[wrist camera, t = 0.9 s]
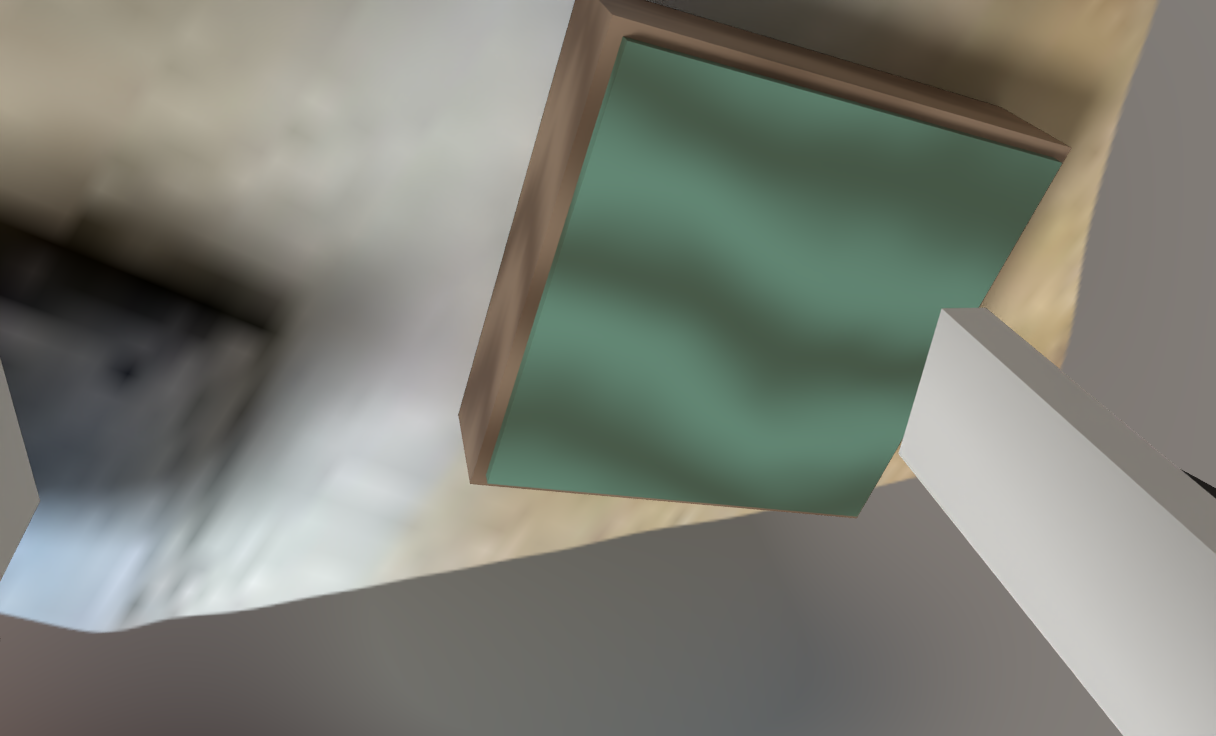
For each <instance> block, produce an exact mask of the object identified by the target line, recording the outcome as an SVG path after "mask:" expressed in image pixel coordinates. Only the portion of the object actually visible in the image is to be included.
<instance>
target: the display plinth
mask: <svg viewBox="0 0 1216 736" xmlns="http://www.w3.org/2000/svg"><path fill="white" fill-rule="evenodd" d="M1070 150H1071V147H1069V146H1068V145H1066V144H1064V143H1062V142H1061V141H1059V140H1057V139H1055V138H1054V137H1052V136H1050V135H1048V134H1047V133H1045V132H1043V131H1041V130H1040V129H1038V128H1036V127H1035V126H1033V125H1031V124H1029V123H1028V122H1026V121H1024V120H1022V119H1021V118H1019V117H1017V116H1015V115H1014V114H1012V113H1010V112H1008V111H1007V110H1005V109H1003V108H1001V107H999V106H996V105H992V104H989V103H986V102H982V101H979V100H976V99H972V98H969V97H966V96H962V95H959V94H955V93H952V92H949V91H945V90H942V89H939V88H935V87H932V86H929V85H925V84H922V83H919V82H915V81H912V80H909V79H905V78H902V77H899V76H895V75H892V74H889V73H885V72H882V71H879V70H875V69H872V68H869V67H865V66H862V65H859V64H855V63H852V62H849V61H845V60H842V59H839V58H835V57H832V56H829V55H825V54H822V53H819V52H815V51H812V50H809V49H805V48H802V47H799V46H795V45H792V44H789V43H785V42H782V41H779V40H775V39H772V38H769V37H765V36H762V35H759V34H755V33H752V32H749V31H745V30H742V29H739V28H735V27H732V26H729V25H725V24H722V23H719V22H715V21H712V20H709V19H705V18H702V17H699V16H695V15H692V14H689V13H685V12H682V11H679V10H675V9H672V8H669V7H665V6H662V5H659V4H655V3H652V2H649V1H645V0H575V3H574V6H573V10H572V13H571V17H570V20H569V24H568V28H567V31H566V35H565V38H564V42H563V45H562V49H561V52H560V56H559V60H558V63H557V67H556V70H555V74H554V77H553V81H552V84H551V88H550V91H549V95H548V99H547V102H546V106H545V109H544V113H543V116H542V120H541V123H540V127H539V130H538V134H537V138H536V141H535V145H534V148H533V152H532V155H531V159H530V162H529V166H528V169H527V173H526V177H525V180H524V184H523V187H522V191H521V194H520V198H519V201H518V205H517V209H516V212H515V216H514V219H513V223H512V226H511V230H510V233H509V237H508V240H507V244H506V248H505V251H504V255H503V258H502V262H501V265H500V269H499V272H498V276H497V279H496V283H495V287H494V290H493V294H492V297H491V301H490V304H489V308H488V311H487V315H486V318H485V322H484V326H483V329H482V333H481V336H480V340H479V343H478V347H477V350H476V354H475V357H474V361H473V365H472V368H471V372H470V375H469V379H468V382H467V386H466V389H465V393H464V397H463V400H462V404H461V407H460V411H459V414H458V416H459V421H460V427H461V433H462V439H463V445H464V451H465V457H466V462H467V468H468V474H469V480H470V484H477V485H488V486H499V487H510V488H522V489H533V490H544V491H555V492H567V493H578V494H589V495H601V496H612V497H623V498H634V499H646V500H657V501H668V502H679V503H691V504H702V505H713V506H725V507H736V508H747V509H758V510H770V511H781V512H792V513H803V514H815V515H827V516H837V517H849V518H857V517H858V515H859V513H860V512H861V510H862V508H863V507H864V505H865V503H866V501H867V500H868V498H869V496H870V495H871V493H872V491H873V489H874V488H875V486H876V484H877V482H878V481H879V479H880V477H881V476H882V474H883V472H884V470H885V469H886V467H887V465H888V463H889V462H890V460H891V458H892V457H893V455H894V453H895V451H896V450H897V448H898V446H899V445H900V443H901V441H902V439H903V437H904V434H905V430H906V427H907V424H908V420H909V417H910V413H911V410H912V407H913V403H914V400H915V397H916V393H917V390H918V386H919V383H920V380H921V376H922V373H923V370H924V366H925V363H926V360H927V356H928V353H929V349H930V346H931V343H932V339H933V336H934V333H935V329H936V326H937V322H938V319H939V316H940V312H941V309H942V308H979V307H980V305H981V303H982V301H983V300H984V298H985V296H986V295H987V293H988V291H989V289H990V288H991V286H992V284H993V282H994V281H995V279H996V277H997V276H998V274H999V272H1000V270H1001V269H1002V267H1003V265H1004V263H1005V262H1006V260H1007V258H1008V257H1009V255H1010V253H1011V251H1012V250H1013V248H1014V246H1015V244H1016V243H1017V241H1018V239H1019V238H1020V236H1021V234H1022V232H1023V231H1024V229H1025V227H1026V226H1027V224H1028V222H1029V220H1030V219H1031V217H1032V215H1033V213H1034V212H1035V210H1036V208H1037V207H1038V205H1039V203H1040V201H1041V200H1042V198H1043V196H1044V194H1045V193H1046V191H1047V189H1048V188H1049V186H1050V184H1051V182H1052V181H1053V179H1054V177H1055V176H1056V174H1057V172H1058V170H1059V169H1060V167H1061V165H1062V163H1063V162H1064V160H1065V158H1066V157H1067V155H1068V153H1069V151H1070Z"/></svg>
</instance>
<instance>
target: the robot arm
mask: <svg viewBox="0 0 1216 736" xmlns="http://www.w3.org/2000/svg"><path fill="white" fill-rule="evenodd" d="M899 455H900V456H901V458H902V459H903V460H904V461H905V463H906V464H907V465H908V466H909V468H910V469H911V470H912V471H913V473H914V474H915V475H916V476H917V478H918V479H919V480H920V481H921V483H922V484H923V485H924V486H925V487H926V489H927V490H928V491H929V493H930V494H931V495H932V496H933V498H934V499H935V500H936V501H937V503H938V504H939V505H940V506H941V508H942V509H943V510H944V511H945V513H946V514H947V515H948V516H949V518H950V519H951V520H952V521H953V523H954V524H955V525H956V526H957V528H958V529H959V530H960V531H961V533H962V534H963V535H964V536H965V537H966V539H967V540H968V541H969V543H970V544H971V545H972V547H973V548H974V549H975V550H976V552H977V553H978V554H979V555H980V556H981V558H982V559H983V560H984V562H985V563H986V564H987V565H988V567H989V568H990V569H991V570H992V572H993V573H994V574H995V575H996V577H997V578H998V579H999V580H1000V581H1001V583H1002V584H1003V585H1004V587H1005V588H1006V589H1007V590H1008V592H1009V593H1010V594H1011V595H1012V597H1013V598H1014V599H1015V600H1016V602H1017V603H1018V604H1019V606H1020V607H1021V608H1022V609H1023V611H1024V612H1025V613H1026V614H1027V616H1028V617H1029V618H1030V619H1031V620H1032V622H1033V623H1034V624H1035V626H1036V627H1037V628H1038V629H1039V631H1040V632H1041V633H1042V634H1043V636H1044V637H1045V638H1046V639H1047V641H1048V642H1049V643H1050V644H1051V646H1052V647H1053V648H1054V649H1055V651H1056V652H1057V653H1058V654H1059V656H1060V657H1061V658H1062V659H1063V661H1064V662H1065V663H1066V664H1067V666H1068V667H1069V668H1070V669H1071V671H1072V672H1073V673H1074V674H1075V676H1076V677H1077V678H1078V679H1079V681H1080V682H1081V683H1082V685H1083V686H1084V687H1085V688H1086V690H1087V691H1088V692H1089V693H1090V695H1091V696H1092V697H1093V698H1094V700H1095V701H1096V702H1097V703H1098V705H1099V706H1100V707H1101V708H1102V710H1103V711H1104V712H1105V713H1106V714H1107V716H1108V717H1109V718H1110V720H1111V721H1112V722H1113V723H1114V725H1115V726H1116V727H1117V728H1118V729H1119V731H1120V732H1121V733H1122V735H1123V736H1216V488H1214V487H1212V486H1211V485H1209V484H1207V483H1205V482H1203V481H1201V480H1200V479H1198V478H1196V477H1194V476H1192V475H1190V474H1189V473H1187V472H1185V471H1183V470H1181V469H1179V468H1178V467H1177V466H1176V465H1175V464H1173V463H1172V462H1171V461H1170V460H1169V459H1167V458H1166V457H1165V456H1164V455H1162V454H1161V453H1160V452H1159V451H1158V450H1156V449H1155V448H1154V447H1153V446H1152V445H1150V444H1149V443H1148V442H1147V441H1146V440H1144V439H1143V438H1142V437H1141V436H1140V435H1138V434H1137V433H1136V432H1135V431H1134V430H1132V429H1131V428H1130V427H1129V426H1128V425H1126V424H1125V423H1124V422H1123V421H1122V420H1120V419H1119V418H1118V417H1117V416H1115V415H1114V414H1113V413H1112V412H1111V411H1109V410H1108V409H1107V408H1106V407H1105V406H1103V405H1102V404H1101V403H1100V402H1099V401H1097V400H1096V399H1095V398H1094V397H1093V396H1091V395H1090V394H1089V393H1088V392H1087V391H1085V390H1084V389H1083V388H1082V387H1080V386H1079V385H1078V384H1077V383H1076V382H1075V381H1073V380H1072V379H1071V378H1070V377H1068V376H1067V375H1066V374H1065V373H1063V372H1062V371H1061V370H1060V369H1059V368H1058V367H1056V366H1055V365H1054V364H1053V363H1052V362H1050V361H1049V360H1048V359H1047V358H1046V357H1044V356H1043V355H1042V354H1041V353H1040V352H1038V351H1037V350H1036V349H1035V348H1034V347H1032V346H1031V345H1030V344H1029V343H1028V342H1026V341H1025V340H1024V339H1023V338H1022V337H1020V336H1019V335H1018V334H1017V333H1015V332H1014V331H1013V330H1012V329H1011V328H1009V327H1008V326H1007V325H1006V324H1005V323H1003V322H1002V321H1001V320H1000V319H999V318H997V317H996V316H995V315H994V314H993V313H991V312H990V311H989V310H988V309H987V308H942V309H941V312H940V316H939V319H938V322H937V326H936V329H935V333H934V336H933V339H932V343H931V346H930V349H929V353H928V356H927V360H926V363H925V366H924V370H923V373H922V376H921V380H920V383H919V386H918V390H917V393H916V397H915V400H914V403H913V407H912V410H911V413H910V417H909V420H908V424H907V427H906V430H905V434H904V437H903V440H902V444H901V447H900V451H899ZM39 502H40V499H39V495H38V491H37V488H36V484H35V481H34V477H33V474H32V470H31V466H30V463H29V459H28V456H27V452H26V448H25V445H24V441H23V438H22V434H21V431H20V427H19V423H18V420H17V416H16V413H15V409H14V406H13V402H12V398H11V395H10V391H9V388H8V384H7V381H6V377H5V373H4V370H3V366H2V363H1V359H0V581H1V579H2V577H3V575H4V573H5V571H6V569H7V567H8V565H9V563H10V561H11V559H12V557H13V555H14V553H15V551H16V549H17V547H18V545H19V543H20V541H21V539H22V537H23V535H24V533H25V531H26V529H27V527H28V525H29V523H30V521H31V519H32V516H33V514H34V512H35V510H36V508H37V506H38V504H39Z"/></svg>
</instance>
